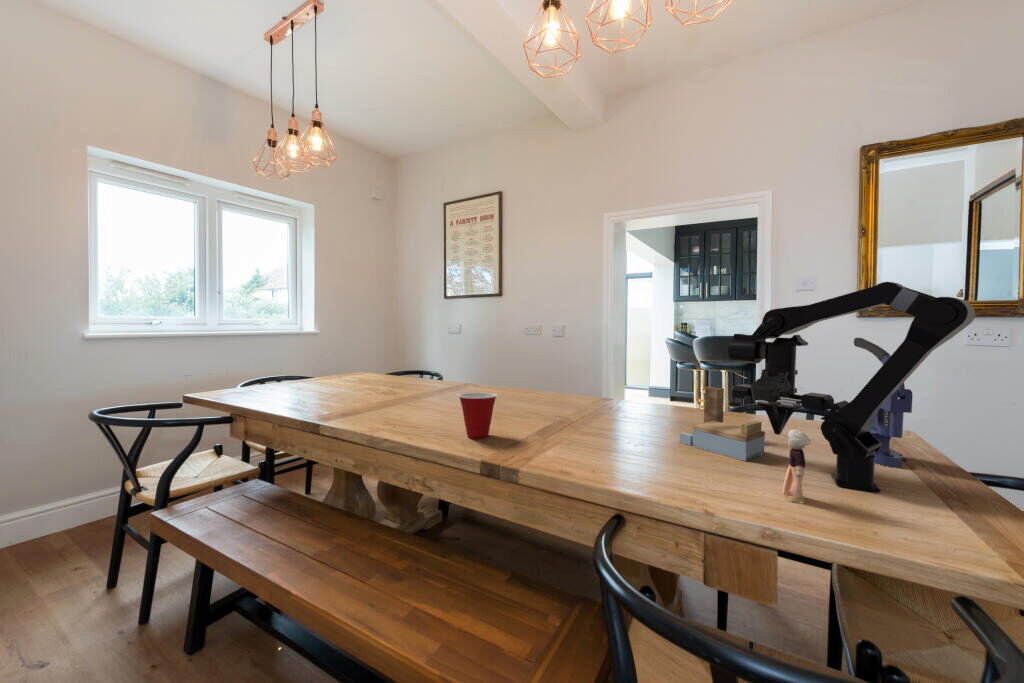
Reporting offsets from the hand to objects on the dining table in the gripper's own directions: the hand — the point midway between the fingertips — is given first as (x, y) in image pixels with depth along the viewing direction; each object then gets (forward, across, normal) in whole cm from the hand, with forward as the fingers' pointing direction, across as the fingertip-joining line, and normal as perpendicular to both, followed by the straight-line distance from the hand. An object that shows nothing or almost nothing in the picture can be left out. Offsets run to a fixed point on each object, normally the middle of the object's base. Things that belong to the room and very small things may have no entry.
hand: (777, 434), depth 91 cm
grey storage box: (+7, -13, 0) cm, 15 cm away
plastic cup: (+7, -56, -46) cm, 73 cm away
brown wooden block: (+7, -20, +9) cm, 23 cm away
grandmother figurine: (+7, +10, -18) cm, 21 cm away
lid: (+2, -11, 0) cm, 11 cm away
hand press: (+7, +10, +25) cm, 28 cm away
